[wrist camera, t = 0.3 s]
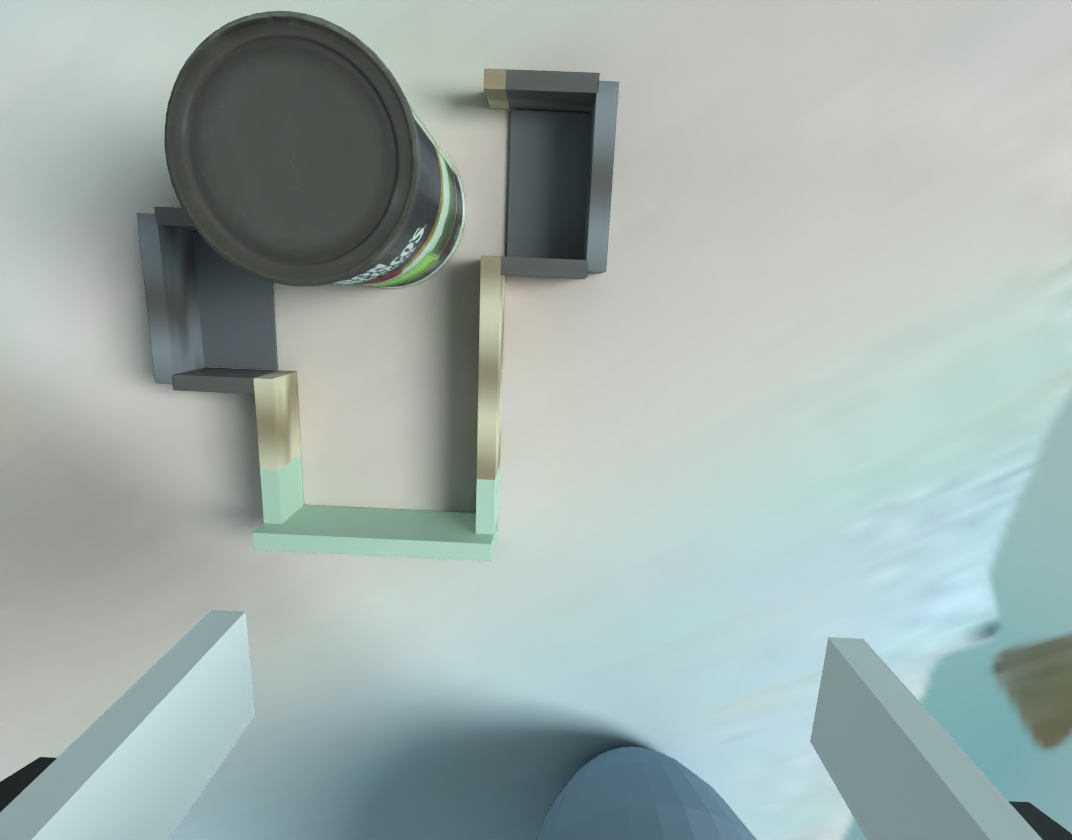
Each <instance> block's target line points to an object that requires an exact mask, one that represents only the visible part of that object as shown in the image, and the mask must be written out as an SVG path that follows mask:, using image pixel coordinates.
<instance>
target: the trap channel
mask: <svg viewBox="0 0 1072 840" xmlns="http://www.w3.org/2000/svg"><path fill="white" fill-rule="evenodd" d="M599 74H600V73H586V72H560V71H533V70H507V69H484V90H485V93H486V96H487V100H488V103H489V106H490V109H516V110H542V111H568V112H592V122H591V139H590V157H589V174H588V191H587V208H586V225H585V243H584V260H572V259H549V258H525V257H501V256H481V275H480V328H479V381H478V434H477V479H483V480H495V478H496V475H497V471H498V468H499V464H500V433H501V398H502V362H503V327H504V291H505V276H528V277H551V278H575V279H585V278H587V275H588V273H603V272H606V267H607V252H608V237H609V222H610V207H611V192H612V177H613V162H614V147H615V132H616V118H617V103H618V88H619V82H612V81H599ZM154 209H155V214H143V213H137V221H138V230H139V239H140V248H141V257H142V266H143V275H144V284H145V293H146V302H147V311H148V320H149V329H150V338H151V347H152V356H153V365H154V374H155V383H163V384H173V390H181V391H203V392H225V393H247V394H255V406H256V420H257V434H258V448H259V462H260V469H269V470H279V469H280V468H282V467H283V466H285V465H287V464H288V463H290V462H291V461H293V460H294V459H296V458H297V457H299V456H300V455H301V441H300V422H299V404H298V385H297V371H276V370H254V369H231V368H209V367H206V366H204V356H203V345H202V334H201V323H200V312H199V301H198V290H197V279H196V268H195V257H194V246H193V235H192V232H194V231H197V230H196V228H195V227H194V226H193V224H192V223H191V221H190V220H189V218H188V217H187V215H186V213H185V211H184V209H183V208H170V207H154Z"/></svg>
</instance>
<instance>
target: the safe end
mask: <svg viewBox="0 0 1072 840" xmlns="http://www.w3.org/2000/svg"><path fill="white" fill-rule="evenodd" d="M499 468H500V464H499ZM499 468H498V471H497V475H496V478H495V480H483V479H477V487H476V513H466V512H445V511H423V510H402V509H381V508H360V507H339V506H318V505H304V497H303V478H302V460H301V455H300V456H299V457H297V458H296V459H294V460H293V461H291V462H290V463H288V464H287V465H285V466H283V467H282V468H280V469H279V470H269V469H260V476H261V490H262V504H263V518H264V524H262V525H261V526H260V527H259V528H258V529H256V530H255V531H254V532H253V533H252V535H253V548H254V550H266V551H287V552H307V553H328V554H349V555H370V556H390V557H411V558H432V559H452V560H473V561H491V559H492V554H493V549H494V545H495V540H496V535H497V531H498V504H499Z"/></svg>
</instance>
